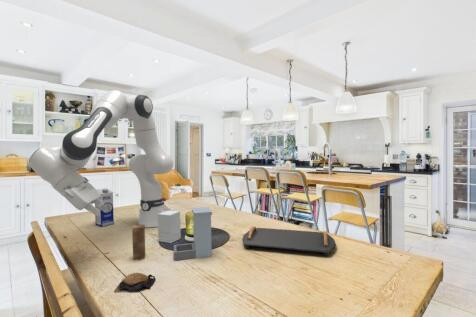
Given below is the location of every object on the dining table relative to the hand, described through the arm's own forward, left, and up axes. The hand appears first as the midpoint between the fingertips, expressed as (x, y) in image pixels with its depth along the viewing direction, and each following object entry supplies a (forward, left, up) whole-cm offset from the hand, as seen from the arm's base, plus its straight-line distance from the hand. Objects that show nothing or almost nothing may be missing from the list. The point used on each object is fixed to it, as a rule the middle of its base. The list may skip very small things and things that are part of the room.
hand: (101, 211), depth 94 cm
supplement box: (-26, +12, -19) cm, 35 cm away
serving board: (-34, +64, -19) cm, 75 cm away
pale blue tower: (-14, +30, -19) cm, 38 cm away
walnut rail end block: (-6, +11, -19) cm, 23 cm away
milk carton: (-39, -37, -19) cm, 57 cm away
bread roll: (+11, +23, -19) cm, 32 cm away
